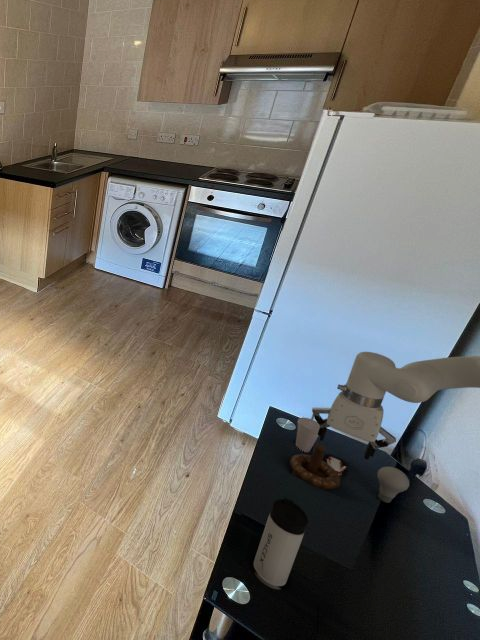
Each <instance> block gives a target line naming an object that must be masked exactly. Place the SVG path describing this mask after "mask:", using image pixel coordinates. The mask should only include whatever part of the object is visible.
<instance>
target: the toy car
mask: <svg viewBox="0 0 480 640" xmlns="http://www.w3.org/2000/svg"><path fill="white" fill-rule="evenodd" d="M324 460H325V463H327V464H328V465H330V466H331V467H332V468H334V470H335V471H336V472H337V473H338V475H339V476H340V477H341V476H342V475H343V473H344V471H345V470H347V469H348V467H347V466H346V465H343V461H342V460H340V459H338V458H336V457H334V456H328V458H325V459H324Z"/></svg>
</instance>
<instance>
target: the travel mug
mask: <svg viewBox="0 0 480 640" xmlns="http://www.w3.org/2000/svg"><path fill="white" fill-rule="evenodd" d="M308 524H309V518H308V515H307V514H306V512H305V511H304V510H303V509H302V508H301V506H299V505H297V504H296V503H295V502H294V500H292V499H289V498H287V497H283V498H278V499H276V500H274V501H273V502H272V505H271V510H270V511H269V514H268V517H267V520H266V524H265V526H264V530H263V532H262V535H261V537H260V538H261V539H260V541H259V545H258V548H257V551H256V552H255V553H256V554H255V557H254V560H253V569H254V570H255V571H253V573H254V575H255V577H256V578H257V580H259V581H260V582H261V583H262V584H263V585H265V586H266V587H268V588H270V589H273V590H279V591H280V590H282V588H281V587H283V586H285V585H286V584H287V582H288V579H289V576H290V573H291V571H292V567H293V565H294V562H295V559H296V557H297V554H298V552H299V549H300V546H301V544H302V540H303V538H304V535H305V533H306V528H307V526H308Z"/></svg>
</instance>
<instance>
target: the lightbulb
mask: <svg viewBox="0 0 480 640" xmlns="http://www.w3.org/2000/svg"><path fill="white" fill-rule="evenodd" d="M377 480H378V482H379V492H378V495H377V497H378V499H380V500H381V502H383V503H386V504H390V503H391V502H392V501H393V499H395V497H396V496H397V495H398V494H399V493H402V492H405V491H407V490H408V489H409V488H410V480H409V477H408V476H407V474H405V472H403V471H402V470H400V469H398V468H396V467H394V466H383V467H380V468H379V469H378V470H377Z"/></svg>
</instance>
